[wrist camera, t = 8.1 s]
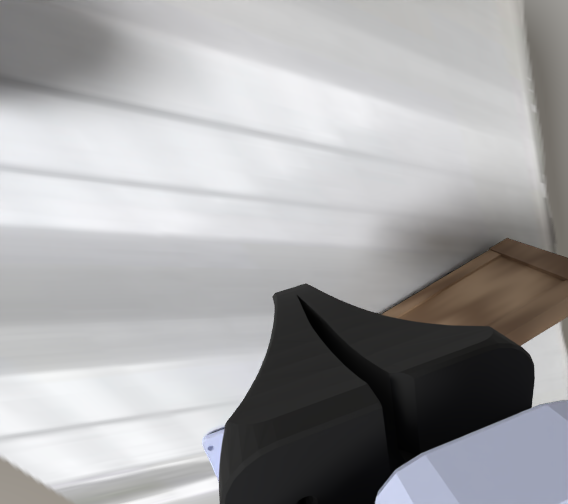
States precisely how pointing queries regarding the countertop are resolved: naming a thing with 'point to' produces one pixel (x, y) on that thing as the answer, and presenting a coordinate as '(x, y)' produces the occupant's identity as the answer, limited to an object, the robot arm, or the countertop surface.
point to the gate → (497, 293)
